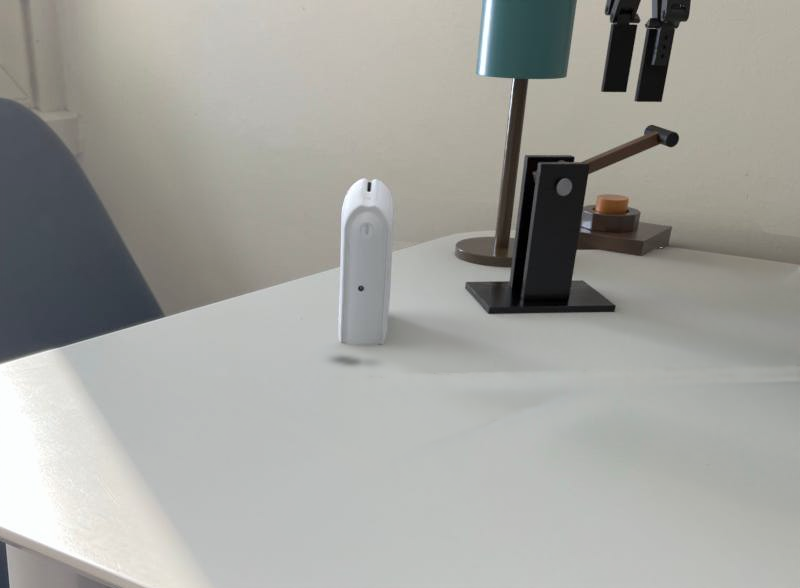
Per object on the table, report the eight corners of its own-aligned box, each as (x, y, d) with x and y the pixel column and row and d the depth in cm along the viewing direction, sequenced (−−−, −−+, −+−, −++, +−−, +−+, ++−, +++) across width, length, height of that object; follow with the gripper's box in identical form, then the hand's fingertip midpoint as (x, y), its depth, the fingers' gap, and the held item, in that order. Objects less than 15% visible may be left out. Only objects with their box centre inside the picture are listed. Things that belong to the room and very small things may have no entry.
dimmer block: (668, 245, 118) (675, 209, 115) (640, 261, 111) (647, 223, 109) (573, 232, 123) (578, 197, 121) (540, 246, 116) (545, 209, 114)
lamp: (545, 254, 113) (581, -8, 99) (545, 275, 105) (585, -7, 91) (457, 249, 114) (480, -10, 100) (451, 269, 106) (475, -9, 92)
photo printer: (387, 354, 82) (396, 193, 75) (335, 352, 82) (340, 191, 75) (387, 318, 91) (396, 170, 84) (340, 316, 91) (345, 169, 84)
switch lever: (658, 142, 91) (654, 115, 89) (681, 151, 87) (677, 122, 85) (533, 195, 92) (527, 169, 91) (550, 206, 88) (544, 178, 86)
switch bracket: (581, 292, 100) (603, 151, 92) (613, 318, 92) (640, 167, 85) (464, 294, 98) (478, 151, 91) (487, 320, 91) (504, 167, 84)
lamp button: (630, 213, 115) (633, 196, 114) (619, 218, 113) (622, 201, 112) (601, 209, 117) (603, 193, 116) (589, 213, 115) (592, 197, 114)
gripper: (597, -158, 104) (564, 86, 117) (686, -184, 86) (635, 107, 99) (665, -155, 105) (625, 86, 118) (767, -180, 87) (706, 108, 100)
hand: (630, 96), depth 108 cm, fingers open, 9 cm apart
